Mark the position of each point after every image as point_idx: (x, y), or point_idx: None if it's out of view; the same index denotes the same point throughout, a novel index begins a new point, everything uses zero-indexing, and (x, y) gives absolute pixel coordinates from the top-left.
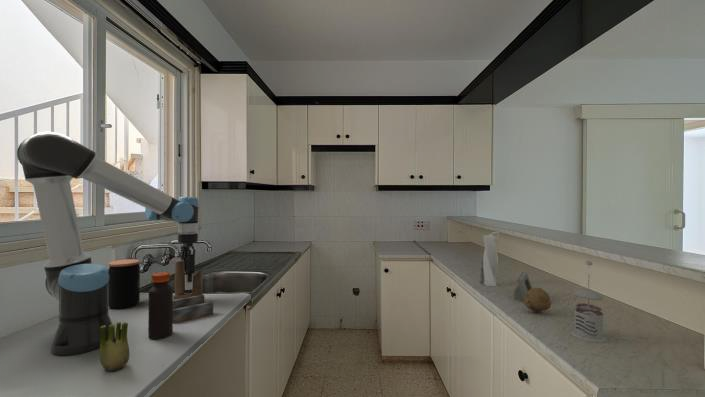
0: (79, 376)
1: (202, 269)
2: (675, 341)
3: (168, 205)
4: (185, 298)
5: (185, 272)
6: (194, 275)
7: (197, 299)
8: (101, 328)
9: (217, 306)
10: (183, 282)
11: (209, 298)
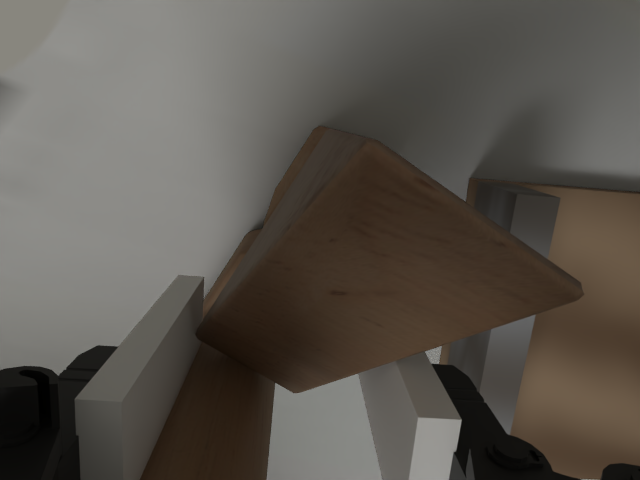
0: None
1: (408, 164)
2: None
3: None
4: (509, 381)
5: (129, 465)
6: (426, 350)
7: None
8: None
9: (605, 87)
10: (254, 406)
11: (299, 40)
